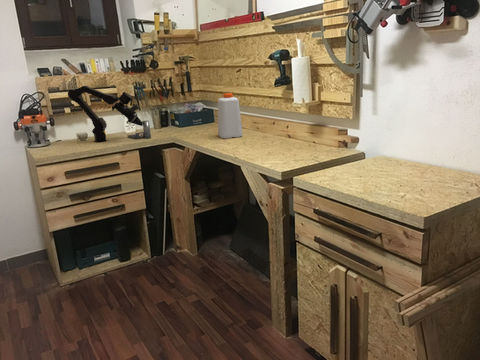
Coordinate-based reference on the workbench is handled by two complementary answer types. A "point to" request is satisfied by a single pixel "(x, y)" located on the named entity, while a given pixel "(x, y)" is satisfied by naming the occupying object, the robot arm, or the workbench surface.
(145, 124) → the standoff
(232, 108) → the plastic bottle
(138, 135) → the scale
